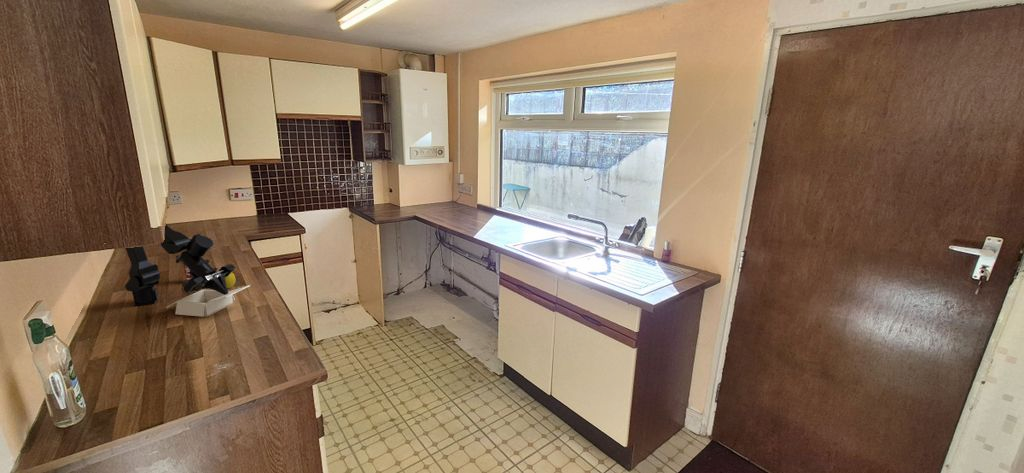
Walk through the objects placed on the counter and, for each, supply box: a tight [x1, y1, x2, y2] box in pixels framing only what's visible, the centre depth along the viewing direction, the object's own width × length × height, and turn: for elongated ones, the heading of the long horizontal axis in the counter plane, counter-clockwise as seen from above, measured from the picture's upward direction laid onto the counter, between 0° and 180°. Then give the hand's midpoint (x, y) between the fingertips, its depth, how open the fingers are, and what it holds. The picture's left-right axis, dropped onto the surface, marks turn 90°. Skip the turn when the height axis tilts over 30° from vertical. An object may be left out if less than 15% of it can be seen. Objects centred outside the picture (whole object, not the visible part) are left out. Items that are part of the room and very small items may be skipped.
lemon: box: [225, 272, 237, 290], centre depth 178 cm, size 6×6×8 cm
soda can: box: [182, 263, 192, 281], centre depth 185 cm, size 5×5×12 cm
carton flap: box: [207, 284, 251, 303], centre depth 156 cm, size 1×12×9 cm
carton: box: [165, 288, 236, 317], centre depth 159 cm, size 17×15×5 cm
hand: (226, 294), depth 156 cm, fingers closed, pressing on carton flap
